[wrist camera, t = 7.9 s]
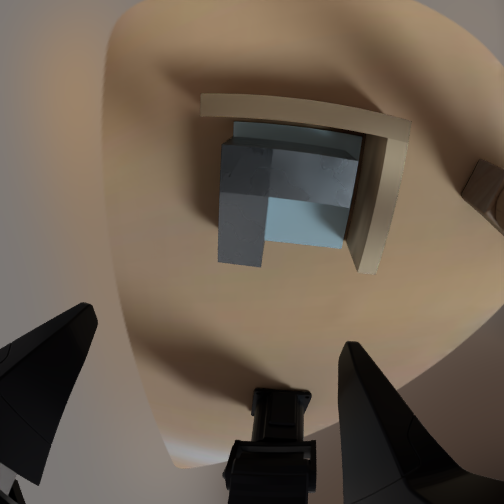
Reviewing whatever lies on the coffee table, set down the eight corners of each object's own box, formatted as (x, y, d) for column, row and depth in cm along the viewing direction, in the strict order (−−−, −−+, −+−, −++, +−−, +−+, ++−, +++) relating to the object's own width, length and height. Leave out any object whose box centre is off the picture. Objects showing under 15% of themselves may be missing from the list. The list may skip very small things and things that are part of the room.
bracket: (233, 136, 17) (221, 144, 14) (345, 150, 16) (358, 161, 13) (228, 236, 20) (217, 262, 17) (326, 247, 20) (332, 275, 17)
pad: (340, 247, 20) (341, 248, 20) (229, 235, 21) (229, 236, 20) (361, 136, 16) (362, 136, 16) (234, 121, 17) (234, 121, 16)
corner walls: (361, 243, 20) (375, 274, 16) (214, 227, 20) (200, 256, 17) (386, 116, 15) (411, 121, 12) (218, 95, 16) (200, 93, 12)
